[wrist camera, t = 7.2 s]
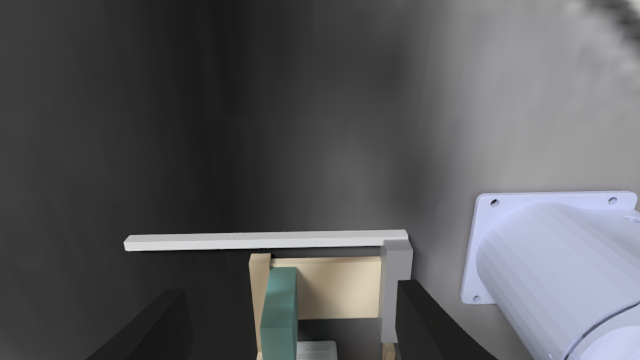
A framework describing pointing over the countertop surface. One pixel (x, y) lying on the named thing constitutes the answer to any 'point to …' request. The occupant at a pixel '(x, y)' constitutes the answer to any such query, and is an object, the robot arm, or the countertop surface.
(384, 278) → the rail
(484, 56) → the countertop surface
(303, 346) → the skincare box
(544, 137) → the countertop surface
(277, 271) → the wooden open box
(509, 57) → the countertop surface
